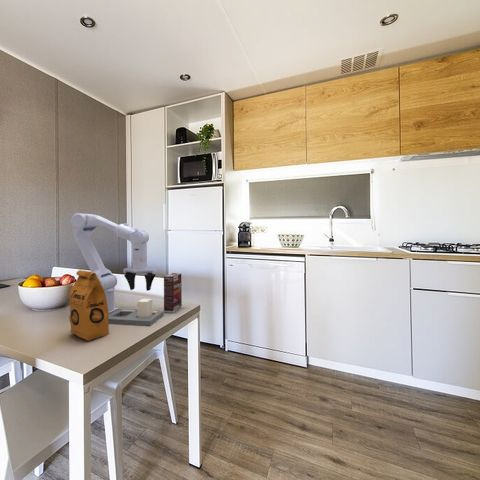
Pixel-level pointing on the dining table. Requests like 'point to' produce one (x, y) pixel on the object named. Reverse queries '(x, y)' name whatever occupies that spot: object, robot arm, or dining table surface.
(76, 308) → the coffee package
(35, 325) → the dining table surface
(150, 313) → the plug block
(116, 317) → the jack panel
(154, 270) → the robot arm
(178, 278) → the supplement box
